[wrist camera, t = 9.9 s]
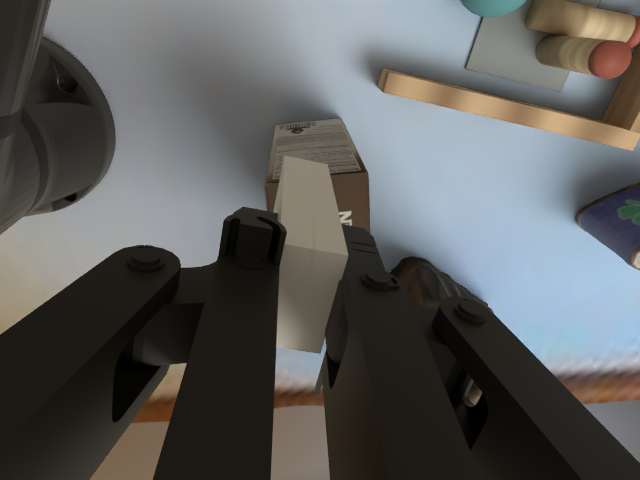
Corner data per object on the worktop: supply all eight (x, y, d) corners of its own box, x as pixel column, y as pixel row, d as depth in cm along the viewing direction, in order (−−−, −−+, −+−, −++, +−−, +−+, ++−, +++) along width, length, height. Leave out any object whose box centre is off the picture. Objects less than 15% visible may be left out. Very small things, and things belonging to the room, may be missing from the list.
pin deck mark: (465, 68, 40) (466, 68, 40) (522, -98, 35) (523, -98, 35) (559, 91, 41) (560, 92, 41) (627, -65, 36) (629, -65, 36)
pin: (529, 61, 40) (589, 74, 32) (541, 31, 39) (606, 37, 31) (555, 67, 40) (620, 82, 32) (567, 38, 39) (638, 45, 31)
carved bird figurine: (397, 366, 54) (449, 541, 37) (331, 297, 50) (354, 459, 32) (491, 308, 51) (598, 467, 34) (431, 228, 47) (517, 365, 29)
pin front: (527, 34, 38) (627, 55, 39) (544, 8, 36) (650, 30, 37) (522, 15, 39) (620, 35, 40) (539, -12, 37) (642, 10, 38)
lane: (377, 87, 40) (385, 94, 37) (449, -178, 32) (468, -202, 29) (612, 142, 44) (640, 154, 40) (727, -87, 36) (775, -97, 32)
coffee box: (348, 210, 45) (374, 304, 31) (283, 216, 45) (279, 313, 31) (343, 115, 41) (370, 172, 27) (271, 121, 41) (259, 182, 27)
